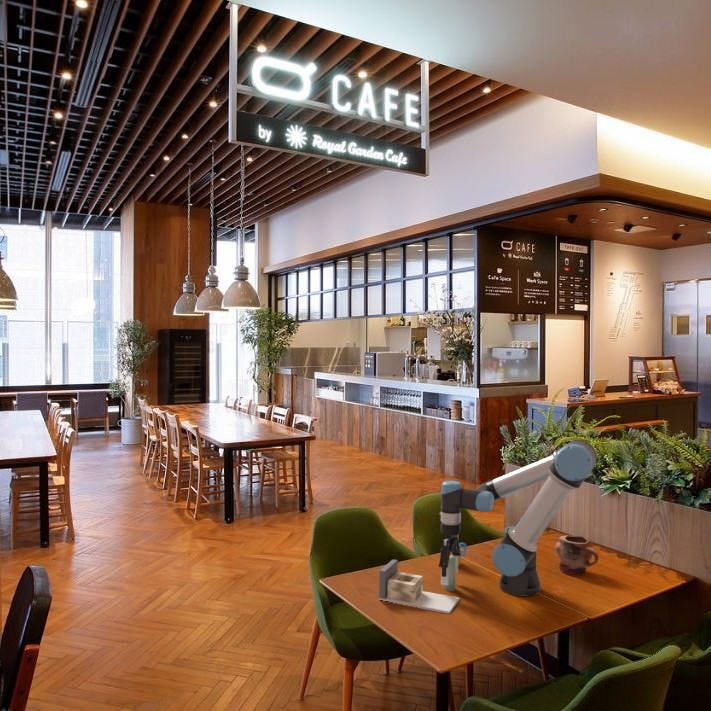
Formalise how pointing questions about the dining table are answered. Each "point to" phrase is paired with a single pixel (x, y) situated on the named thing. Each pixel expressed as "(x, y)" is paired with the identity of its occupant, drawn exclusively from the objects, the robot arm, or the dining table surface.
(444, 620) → the dining table surface
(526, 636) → the dining table surface
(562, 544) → the brown ceramic mug
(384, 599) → the backstop
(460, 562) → the orange ringed tube
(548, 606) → the dining table surface
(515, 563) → the robot arm
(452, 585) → the dowel
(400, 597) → the block
